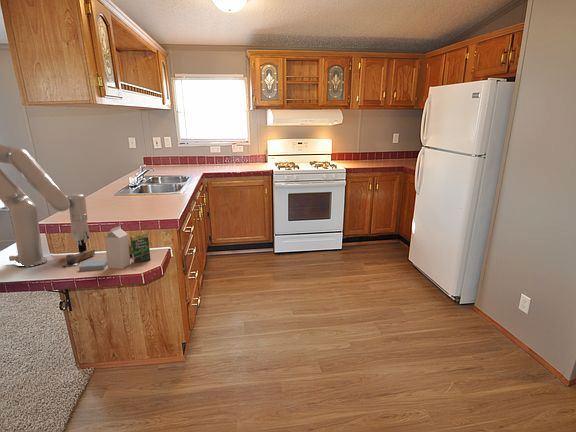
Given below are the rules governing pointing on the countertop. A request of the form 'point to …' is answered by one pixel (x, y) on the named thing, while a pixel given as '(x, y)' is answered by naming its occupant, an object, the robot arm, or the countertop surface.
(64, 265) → the hinge plate
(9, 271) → the countertop surface
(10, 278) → the countertop surface
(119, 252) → the milk carton
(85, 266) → the seat board
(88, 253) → the leg
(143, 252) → the coffee box
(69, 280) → the countertop surface
